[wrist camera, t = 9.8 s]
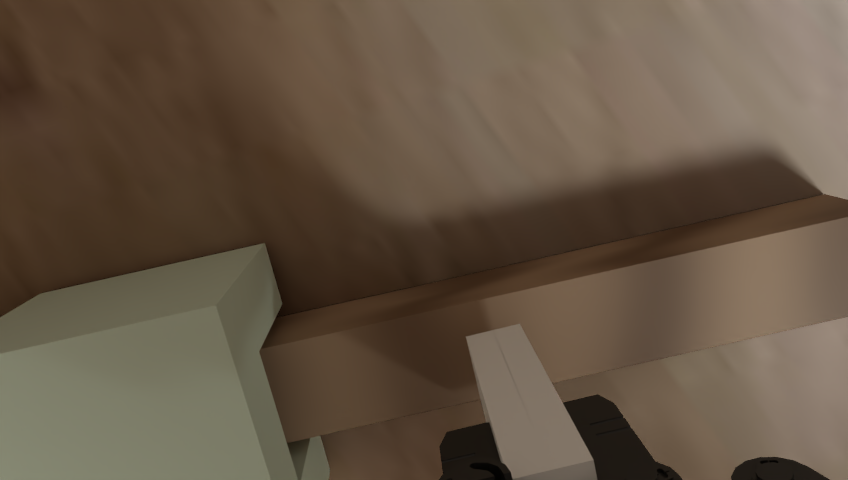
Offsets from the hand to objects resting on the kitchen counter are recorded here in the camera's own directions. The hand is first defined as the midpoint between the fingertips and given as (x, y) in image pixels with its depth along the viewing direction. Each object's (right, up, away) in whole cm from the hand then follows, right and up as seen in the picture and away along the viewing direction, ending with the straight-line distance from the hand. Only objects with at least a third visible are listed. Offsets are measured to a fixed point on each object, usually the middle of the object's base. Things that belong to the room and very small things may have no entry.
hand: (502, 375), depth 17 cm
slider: (-10, -1, +3) cm, 10 cm away
